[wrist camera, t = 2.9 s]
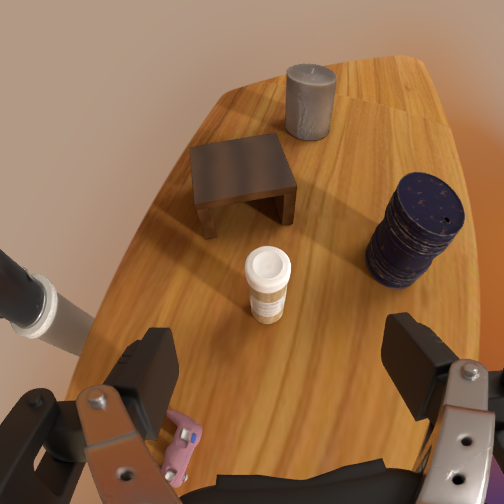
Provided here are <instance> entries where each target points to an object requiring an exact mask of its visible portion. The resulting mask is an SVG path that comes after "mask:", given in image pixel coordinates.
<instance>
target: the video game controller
mask: <svg viewBox="0 0 504 504" xmlns="http://www.w3.org/2000/svg"><path fill="white" fill-rule="evenodd" d="M166 415H167V417H168V418H169V419H170V420H171V421H173V422H174V423H175V424H176V425H177V430H176V432H175V435H174V438H173V440H172V442H171V444H170V445H169V446H168V448H167V449H166V452H165V456H164V463H163V466H162V467H161V466H159V465H158V466H159V468H160V470H161V471H162V473H163V474H164V476H165V478H166V479H167V481H168V482H169V484H170V485H171V486H172V487H175V488H179V487H180V485H181V484H182V482H185V481H186V480H187V474H186V473H185V470H186V468H187V465H188V463H189V460H190V458H191V455H192V452H193V449H194V448H195V447H196V446H197V444H198V443H199V441H200V438H201V434H202V426H201V425H200V424H197V423H196V422H195V421H193V420H192V419H191V418H189V417H188V416H186V415H184V414H182V413H179V412H177V411H172V410H169V411H167V412H166Z"/></svg>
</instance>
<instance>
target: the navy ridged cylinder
mask: <svg viewBox="0 0 504 504" xmlns="http://www.w3.org/2000/svg"><path fill="white" fill-rule="evenodd" d="M464 220H465V213H464V208H463V205H462V203H461V201H460V199H459V197H458V196H457V194H456V193H455V192H454V190H453V189H452V188H451V187H450V186H449V185H447V184H446V183H445V182H444V181H442V180H441V179H439V178H437V177H435V176H433V175H430V174H427V173H423V172H413V173H409V174H407V175H405V176H404V177H402V179H401V180H400V182H399V184H398V186H397V188H396V191H395V192H394V193H393V195H392V197H391V199H390V201H389V203H388V205H387V207H386V211H385V217H384V219H383V221H381V222H380V224H379V225H378V226H377V228H376V230H375V232H374V234H373V236H372V238H371V240H370V243H369V245H368V247H367V250H366V254H365V260H366V265H367V268H368V270H369V272H370V273H371V275H372V276H373V277H374V278H375V279H376V280H377V281H378V282H379V283H380V284H382V285H384V286H386V287H388V288H392V289H403V288H406V287H408V286H410V285H411V284H413V283H414V282H415V280H417V279H418V278H419V277H420V276H421V275H422V274H423V273H424V272H425V271H426V270H427V269H428V268H429V266H430V265H431V263H432V260H433V259H434V257H436V256H438V255H439V254H441V253H442V252H443V251H444V250H445V249H446V247H447V246H448V245H449V244H450V243H451V242H452V240H453V239H454V237H455V235H456V234H457V233H458V232H459V231H460V229H461V228H462V227H463V224H464Z"/></svg>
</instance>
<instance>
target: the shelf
mask: <svg viewBox="0 0 504 504" xmlns="http://www.w3.org/2000/svg"><path fill="white" fill-rule="evenodd" d="M190 160H191V172H192V184H193V195H194V204H195V208H196V211H197V214H198V217H199V220H200V223H201V227H202V230H203V233H204V236H205V239H206V240H208V239H213V238H217V234H216V228H215V221H214V214H213V207H218V206H223V205H229V204H234V203H239V202H245V201H251V200H256V199H262V198H268V197H274V201H275V204H276V207H277V210H278V214H279V217H280V220H281V224H282V226H283V225H288V224H293V219H294V210H295V201H296V191H297V184H296V182H295V179H294V177H293V174H292V172H291V169H290V167H289V164H288V162H287V159H286V157H285V154H284V152H283V149H282V147H281V144H280V142H279V140H278V137H277V135H276V133H275V134H267V135H260V136H253V137H246V138H240V139H234V140H228V141H222V142H217V143H211V144H206V145H201V146H196V147H191V148H190Z"/></svg>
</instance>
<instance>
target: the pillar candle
mask: <svg viewBox="0 0 504 504" xmlns="http://www.w3.org/2000/svg"><path fill="white" fill-rule="evenodd" d="M336 81H337V77H336V74H335V73H334V72H333V71H331V70H330V69H328V68H326V67H323V66H320V65H314V64H299V65H294V66H292V67H289V68H288V69H287V84H286V115H285V127H286V129H287V131H288V132H289V133H290V134H291V135H293V136H294V137H296V138H299V139H303V140H311V141H312V140H318V139H321V138H324V137H325V136H327V135H328V133H329V127H330V121H331V116H332V110H333V103H334V96H335V89H336Z"/></svg>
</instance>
